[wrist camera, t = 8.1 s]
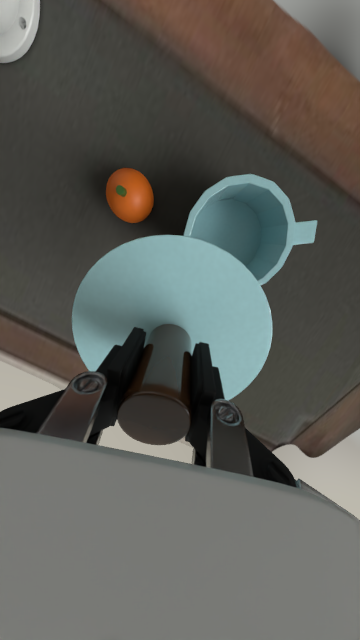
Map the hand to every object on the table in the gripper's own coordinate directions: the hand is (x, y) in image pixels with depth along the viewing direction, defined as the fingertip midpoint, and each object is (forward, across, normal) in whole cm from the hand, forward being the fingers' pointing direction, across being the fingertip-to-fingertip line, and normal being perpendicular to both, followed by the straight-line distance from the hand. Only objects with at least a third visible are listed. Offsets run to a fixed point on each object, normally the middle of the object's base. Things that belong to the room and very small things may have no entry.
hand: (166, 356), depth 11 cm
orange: (+24, +10, -10) cm, 28 cm away
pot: (+24, -5, -8) cm, 26 cm away
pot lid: (+2, 0, 0) cm, 2 cm away
